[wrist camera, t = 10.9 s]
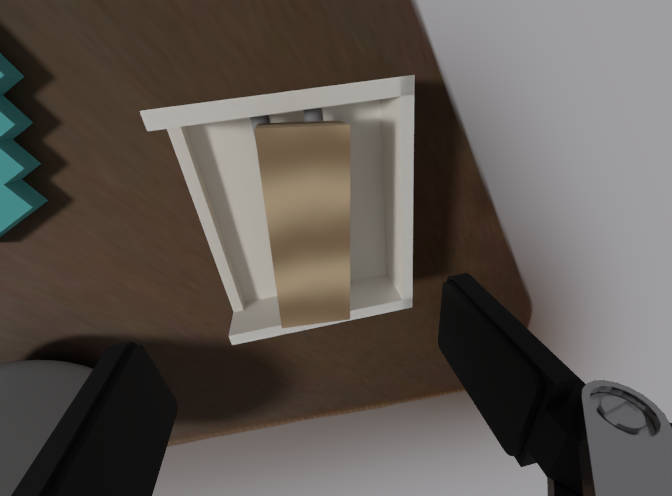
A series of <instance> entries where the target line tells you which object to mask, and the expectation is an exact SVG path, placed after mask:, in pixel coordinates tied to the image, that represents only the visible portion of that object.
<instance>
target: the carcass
mask: <svg viewBox="0 0 672 496" xmlns="http://www.w3.org/2000/svg"><path fill="white" fill-rule="evenodd" d="M414 84H415V75H410V76H402V77H394V78H387V79H379V80H371V81H364V82H356V83H349V84H341V85H333V86H326V87H318V88H310V89H303V90H295V91H288V92H280V93H272V94H265V95H257V96H249V97H242V98H234V99H227V100H219V101H211V102H204V103H196V104H188V105H181V106H173V107H165V108H158V109H150V110H143V111H140V114H141V116H142V119H143V121H144V124H145V126H146V129H147V131H154V130H161V129H167V131H168V134H169V136H170V139H171V142H172V145H173V147H174V150H175V153H176V156H177V158H178V161H179V164H180V166H181V169H182V172H183V175H184V177H185V180H186V183H187V186H188V188H189V191H190V194H191V197H192V199H193V202H194V205H195V208H196V210H197V213H198V216H199V219H200V221H201V224H202V227H203V229H204V232H205V235H206V238H207V240H208V243H209V246H210V249H211V251H212V254H213V257H214V260H215V262H216V265H217V268H218V271H219V273H220V276H221V279H222V281H223V284H224V287H225V290H226V292H227V295H228V298H229V301H230V303H231V306H232V309H233V312H234V313H233V317H232V322H231V327H230V332H229V338H230V341H231V344H232V345H236V344H241V343H245V342H250V341H255V340H260V339H264V338H269V337H274V336H278V335H283V334H288V333H293V332H297V331H302V330H307V329H312V328H316V327H321V326H326V325H331V324H335V323H340V322H345V321H350V320H354V319H359V318H364V317H368V316H373V315H378V314H383V313H387V312H392V311H397V310H402V309H406V308H411V307H412V286H413V185H414ZM337 120H339V121H342V122H344V123H347V124H350V319H349V320H341V321H334V322H326V323H319V324H311V325H304V326H296V327H289V328H282V326H281V319H280V312H279V304H278V297H277V290H276V283H275V276H274V269H273V261H272V254H271V247H270V240H269V233H268V226H267V218H266V211H265V204H264V197H263V190H262V183H261V175H260V168H259V161H258V154H257V147H256V139H255V132H254V128H255V127H256V125H257V124H258V123H281V122H309V121H337Z"/></svg>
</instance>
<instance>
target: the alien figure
mask: <svg viewBox="0 0 672 496" xmlns="http://www.w3.org/2000/svg"><path fill="white" fill-rule="evenodd" d="M22 78H24V76H23V75H22V74H21V73H20V72H19V71H18V70H17V69H16V68H15V67H14V66H13V65H12V64H11V63H10V62H9V61H8V60H7V59H6V58H5V57H4V56H3V55H2V54H1V53H0V237H1V236H2V235H4V234H5V233H6V232H8V231H9V230H10V229H12V228H13V227H14V226H16V225H17V224H18V223H19V222H21V221H22V220H23V219H25V218H26V217H27V216H29V215H30V214H31V213H33V212H34V211H35V210H36V209H38V208H39V207H40V206H42V205H43V204H44V203H46V202H47V201H48V200H47V199H46V198H44V197H43V196H42V195H41V194H39V193H38V192H37V191H36V190H35V189H33V188H32V187H31V186H30V185H28V184H27V183H26V182H25V181H23V180H22V178H24V177H25V176H26V175H28V174H29V173H30V172H31V171H33V170H34V169H35V168H36V167H38V166H39V165H40V164H41V163H40V162H39V161H37V160H36V159H35V158H34V157H33V156H32V155H30V154H29V153H28V152H27V151H26V150H25V149H23V148H22V147H21V146H20V145H19V144H18V143H16V142H15V141H14V140H13V139H14V138H15V137H16V136H18V135H19V134H20V133H21V132H23V131H24V130H25V129H26V128H27V127H29V126H30V125H31V124H32V123H33V122H32V121H31V120H30V119H29V118H28V117H27V116H25V115H24V114H23V113H22V112H21V111H20V110H19V109H18V108H17V107H16V106H14V105H13V104H12V103H11V102H10V101H9V100H8V99H7V98H6V97H5V96H3V94H5V93H6V92H7V91H8V90H9V89H11V88H12V87H13V86H14V85H15V84H16V83H18V82H19V81H20V80H21V79H22Z"/></svg>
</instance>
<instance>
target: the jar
mask: <svg viewBox="0 0 672 496" xmlns="http://www.w3.org/2000/svg"><path fill="white" fill-rule="evenodd" d="M92 370H93V369H92V368H89V367H86V366H83V365H79V364H74V363H70V362H64V361H55V360H25V361H14V362H8V363H1V364H0V496H11V495H12V493H13V492H14V490H15V489H16V487H17V486H18V484H19V483H20V481H21V479H22V478H23V476H24V475H25V473H26V472H27V470H28V469H29V467H30V466H31V464H32V463H33V461H34V459H35V458H36V456H37V455H38V453H39V452H40V450H41V449H42V447H43V446H44V444H45V443H46V441H47V439H48V438H49V436H50V435H51V433H52V432H53V430H54V429H55V427H56V426H57V424H58V423H59V421H60V419H61V418H62V416H63V415H64V413H65V412H66V410H67V409H68V407H69V406H70V404H71V403H72V401H73V399H74V398H75V396H76V395H77V393H78V392H79V390H80V389H81V387H82V386H83V384H84V383H85V381H86V379H87V378H88V376H89V375H90V373H91V372H92Z"/></svg>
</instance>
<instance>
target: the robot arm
mask: <svg viewBox="0 0 672 496" xmlns="http://www.w3.org/2000/svg"><path fill="white" fill-rule="evenodd" d="M438 344H439V347H440V350H441V352H442V353H443V355H444V356H445V358H446V360H447V361H448V363H449V364H450V366H451V367H452V369H453V371H454V372H455V374H456V375H457V377H458V378H459V380H460V382H461V383H462V385H463V386H464V388H465V389H466V391H467V393H468V394H469V396H470V397H471V399H472V400H473V402H474V404H475V405H476V407H477V408H478V410H479V411H480V413H481V414H482V416H483V418H484V419H485V421H486V422H487V424H488V425H489V427H490V429H491V430H492V432H493V433H494V435H495V436H496V438H497V440H498V441H499V443H500V444H501V446H502V448H503V449H504V450H505V452H506V453H507V454H508V455H510V456H514V457H515V458H516V460H517V462H518V463H519V465H520V466H521V467H523V466H526V465H530V464H533V463H538V465H539V466H540V467H541V469H542V470H543V472H544V473H545V475H546V476H547V483H548V496H672V423H669V421H668V420H667V418H666V416H665V414H664V413H663V412H662V411H661V410H660V409H659V408H658V407H657V406H656V405H655V404H654V403H653V402H652V401H650V400H649V399H648V398H646V397H645V396H644V395H642V394H640V393H639V392H637V391H635V390H633V389H631V388H629V387H627V386H624V385H621V384H618V383H615V382H610V381H605V380H603V381H601V380H600V381H592V382H590V383H587V384H585V383H584V382H583V381H582V380H581V379H580V378H579V377H577V376H576V375H575V374H574V373H573V372H572V371H571V370H570V369H569V368H568V367H567V366H566V365H565V364H564V363H563V362H561V360H559V359H558V358H557V357H556V356H555V355H554V354H553V353H552V352H551V351H550V350H549V349H548V348H547V347H546V346H545V345H544V344H542V343H541V342H540V341H539V340H538V339H537V338H536V337H535V336H534V335H533V334H532V333H531V332H530V331H529V330H528V329H527V328H526V327H525V326H524V325H523V324H521V323H520V322H519V321H518V320H517V319H516V318H515V317H514V316H513V315H512V314H511V313H510V312H509V311H508V310H506V309H505V308H504V307H503V306H502V305H501V304H500V303H499V302H498V301H497V300H496V299H495V298H494V297H493V296H492V295H491V294H490V293H489V292H487V291H486V290H485V289H484V288H483V287H482V286H481V285H480V284H479V283H478V282H477V281H476V280H475V279H474V278H473V277H472V276H471V275H469V274H468V273H463V274H459V275H454V276H450V277H448V279H447V282H444V283H443V289H442V300H441V312H440V323H439V334H438ZM177 408H178V407H177V401H176V399H175V397H174V396H173V394H172V393H171V391H170V389H169V388H168V386H167V384H166V383H165V381H164V380H163V378H162V376H161V375H160V373H159V371H158V370H157V368H156V367H155V365H154V363H153V362H152V360H151V358H150V357H149V355H148V354H147V352H146V350H145V349H144V347H143V346H141V345H137V344H136V343H135V342H128V343H123V344H118V345H113V346H110V347H108V348H107V349H106V350H105V352H104V353H103V355H102V356H101V358H100V359H99V361H98V363H97V364H96V366H95V367H94V369H93V370H92V372H91V373H90V375H89V376H88V378H87V379H86V381H85V383H84V384H83V386H82V387H81V389H80V390H79V392H78V393H77V395H76V396H75V398H74V399H73V401H72V403H71V404H70V406H69V407H68V409H67V410H66V412H65V413H64V415H63V416H62V418H61V419H60V421H59V423H58V424H57V426H56V427H55V429H54V430H53V432H52V433H51V435H50V436H49V438H48V439H47V441H46V443H45V444H44V446H43V447H42V449H41V450H40V452H39V453H38V455H37V456H36V458H35V459H34V461H33V463H32V464H31V466H30V467H29V469H28V470H27V472H26V473H25V475H24V476H23V478H22V479H21V481H20V483H19V484H18V486H17V487H16V489H15V490H14V492H13V493H12V495H11V496H152V494H153V490H154V487H155V484H156V481H157V477H158V474H159V471H160V467H161V464H162V460H163V457H164V454H165V451H166V447H167V444H168V441H169V438H170V434H171V431H172V428H173V424H174V421H175V418H176V414H177Z"/></svg>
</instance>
